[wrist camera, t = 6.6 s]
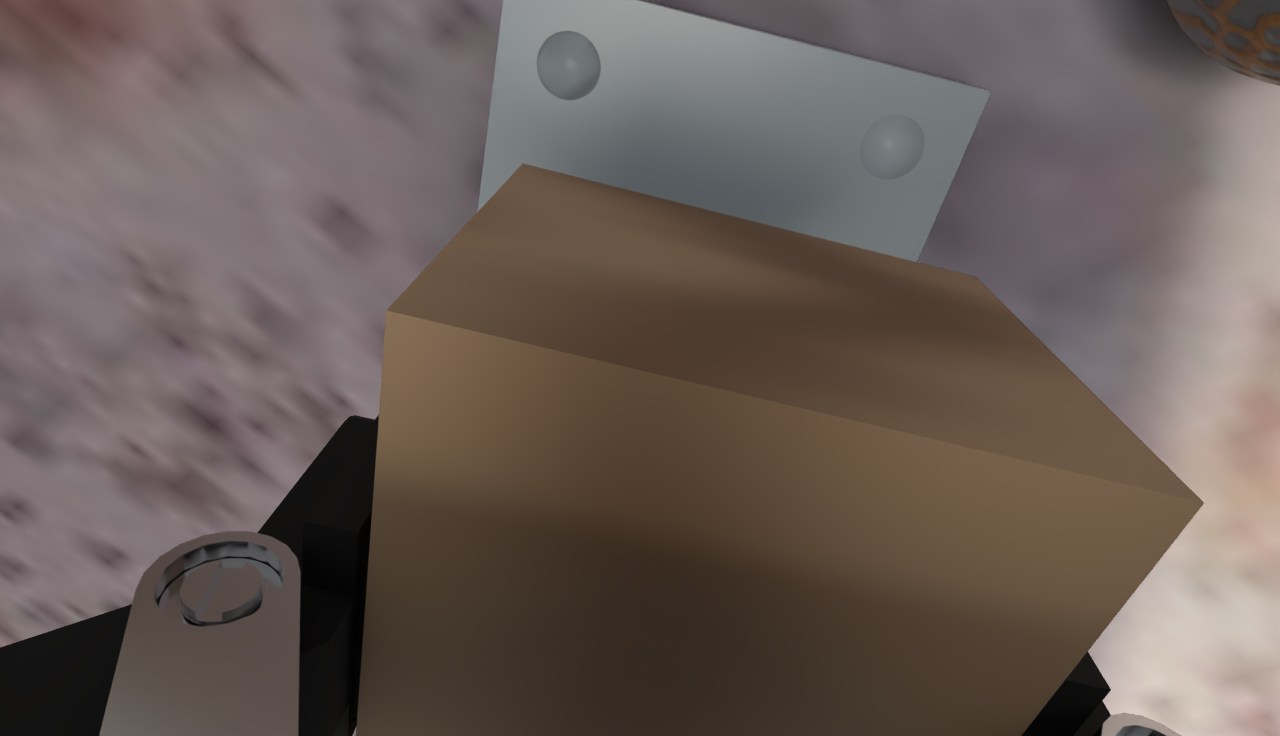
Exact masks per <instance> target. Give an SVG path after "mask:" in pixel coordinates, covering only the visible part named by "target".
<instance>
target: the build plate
mask: <svg viewBox="0 0 1280 736" xmlns="http://www.w3.org/2000/svg"><path fill="white" fill-rule="evenodd" d="M990 94H991V92H990V91H988V90H985V89H982V88H979V87H976V86H973V85H970V84H966V83H962V82H958V81H954V80H950V79H946V78H943V77H939V76H935V75H931V74H927V73H923V72H919V71H916V70H912V69H908V68H904V67H900V66H896V65H892V64H888V63H885V62H881V61H877V60H873V59H869V58H865V57H861V56H858V55H854V54H850V53H846V52H842V51H838V50H834V49H831V48H827V47H823V46H819V45H815V44H811V43H807V42H803V41H800V40H796V39H792V38H788V37H784V36H780V35H776V34H773V33H769V32H765V31H761V30H757V29H753V28H749V27H746V26H742V25H738V24H734V23H730V22H726V21H722V20H718V19H715V18H711V17H707V16H703V15H699V14H695V13H691V12H688V11H684V10H680V9H676V8H672V7H668V6H664V5H661V4H657V3H653V2H649V1H645V0H503V5H502V13H501V22H500V30H499V38H498V46H497V55H496V63H495V71H494V79H493V88H492V96H491V104H490V112H489V121H488V129H487V137H486V145H485V154H484V162H483V170H482V178H481V187H480V195H479V203H478V211H479V210H480V209H481V208H482V207H483V206H484V205H485V204H486V202H487V201H488V200H489V199H490V198H491V197H492V196H493V195H494V194H495V193H496V192H497V191H498V190H499V188H500V187H501V186H502V185H503V184H504V183H505V182H506V181H507V180H508V179H509V178H510V177H511V175H512V174H513V173H514V172H515V171H516V170H517V169H518V168H519V167H520V166H521V165H522V164H527V165H531V166H535V167H539V168H543V169H547V170H551V171H555V172H559V173H563V174H567V175H571V176H575V177H579V178H583V179H587V180H591V181H595V182H599V183H603V184H607V185H611V186H615V187H619V188H623V189H627V190H631V191H635V192H639V193H643V194H647V195H651V196H655V197H659V198H663V199H667V200H671V201H675V202H679V203H683V204H687V205H691V206H695V207H699V208H703V209H707V210H711V211H715V212H719V213H723V214H727V215H731V216H735V217H739V218H743V219H747V220H750V221H754V222H758V223H762V224H766V225H770V226H774V227H778V228H782V229H786V230H790V231H794V232H798V233H802V234H806V235H810V236H814V237H818V238H822V239H826V240H830V241H834V242H838V243H842V244H846V245H850V246H854V247H858V248H862V249H866V250H870V251H874V252H878V253H882V254H886V255H890V256H894V257H898V258H902V259H906V260H910V261H914V262H917V261H918V258H919V256H920V254H921V252H922V249H923V247H924V245H925V242H926V240H927V238H928V236H929V233H930V231H931V229H932V226H933V224H934V222H935V220H936V217H937V215H938V213H939V210H940V208H941V206H942V204H943V201H944V199H945V197H946V194H947V192H948V190H949V188H950V185H951V183H952V181H953V178H954V176H955V174H956V172H957V169H958V167H959V165H960V162H961V160H962V158H963V156H964V153H965V151H966V149H967V146H968V144H969V142H970V140H971V137H972V135H973V133H974V130H975V128H976V126H977V124H978V121H979V119H980V117H981V114H982V112H983V110H984V108H985V105H986V103H987V101H988V98H989V96H990ZM478 211H477V212H478Z"/></svg>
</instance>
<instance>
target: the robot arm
mask: <svg viewBox="0 0 1280 736" xmlns="http://www.w3.org/2000/svg"><path fill="white" fill-rule="evenodd" d="M378 423H379V415H378V417H377V418H376V419H375V420H374V419H369V418H365V417H360V416H355V415H354V416H350V417H349V418H348V419H347V420H346V421H345V422H344V423H343V424H342V425H341V427H340V428H339V429H338V430H337V432H336V433H335V434H334V436H333V437H332V438H331V439H330V441H329V442H328V443H327V445H326V446H325V447H324V448H323V450H322V451H321V452H320V453H319V455H318V456H317V457H316V459H315V460H314V461H313V462H312V464H311V465H310V466H309V468H308V469H307V470H306V471H305V473H304V474H303V475H302V477H301V478H300V479H299V480H298V482H297V483H296V484H295V485H294V487H293V488H292V489H291V491H290V492H289V493H288V494H287V496H286V497H285V498H284V500H283V501H282V502H281V503H280V505H279V506H278V507H277V508H276V510H275V511H274V512H273V514H272V515H271V516H270V517H269V519H268V520H267V521H266V523H265V524H264V525H263V526H262V528H261V529H260V530H259V532H258V533H255V532H248V531H226V532H220V533H215V534H209V535H203V536H201V537H198V538H195V539H193V540H190V541H187V542H184V543H182V544H180V545H178V546H176V547H175V548H173V549H171V550H170V551H168V552H166V553H165V554H163V555H162V556H160V557H159V558H158V559H157V560H156V561H155V562H154V563H153V564H152V565H151V566H150V567H149V568H148V569H147V570H146V571H145V572H144V574H143V576H142V578H141V580H140V582H139V584H138V586H137V588H136V590H135V594H134V598H133V602H132V604H131V605H128V606H125V607H122V608H119V609H116V610H113V611H110V612H107V613H104V614H101V615H98V616H95V617H92V618H89V619H86V620H83V621H80V622H77V623H74V624H71V625H68V626H65V627H62V628H59V629H56V630H53V631H50V632H47V633H43V634H40V635H37V636H34V637H31V638H28V639H25V640H22V641H19V642H16V643H13V644H10V645H7V646H4V647H1V648H0V736H352V735H353V733H354V730H355V728H356V726H357V714H358V700H359V686H360V673H361V659H362V645H363V631H364V617H365V603H366V589H367V575H368V561H369V548H370V534H371V520H372V506H373V492H374V478H375V464H376V450H377V437H378ZM1110 690H1111V689H1110V688H1109V686H1108V684H1107V683H1106V681H1105V679H1104V678H1103V676H1102V674H1101V673H1100V671H1099V669H1098V668H1097V666H1096V664H1095V663H1094V661H1093V660H1092V658H1091V656H1090V655H1089V653H1088V651H1087V653H1086V654H1085V655H1084V656H1083V658H1082V659H1081V660H1080V662H1079V663H1078V664H1077V665H1076V667H1075V668H1074V669H1073V670H1072V672H1071V673H1070V674H1069V676H1068V677H1067V678H1066V679H1065V681H1064V682H1063V683H1062V685H1061V686H1060V687H1059V688H1058V690H1057V691H1056V692H1055V693H1054V695H1053V696H1052V697H1051V699H1050V700H1049V701H1048V702H1047V704H1046V705H1045V706H1044V707H1043V709H1042V710H1041V711H1040V713H1039V714H1038V715H1037V716H1036V718H1035V719H1034V720H1033V721H1032V723H1031V724H1030V725H1029V727H1028V728H1027V729H1026V730H1025V732H1024V733H1023V734H1022V735H1021V736H1181V735H1179V734H1177V733H1176V732H1174V731H1173V730H1171V729H1169V728H1168V727H1166V726H1164V725H1163V724H1160V723H1158V722H1156V721H1153V720H1151V719H1148V718H1146V717H1143V716H1140V715H1134V714H1128V713H1121V714H1116V715H1110V713H1109V711H1108V710H1107V708H1106V706H1105V704H1104V703H1103V701H1102V700H1103V699H1104V698H1105V697H1106V695H1107V694H1108V693H1109V692H1110Z"/></svg>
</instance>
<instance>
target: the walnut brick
mask: <svg viewBox="0 0 1280 736" xmlns="http://www.w3.org/2000/svg"><path fill="white" fill-rule="evenodd" d="M1203 504H1204V502H1203V501H1202V500H1201V499H1200V498H1199V497H1198V496H1197V495H1196V494H1195V493H1194V492H1193V491H1192V490H1190V489H1189V488H1188V487H1187V486H1186V485H1185V484H1184V483H1183V482H1182V481H1181V480H1180V479H1179V478H1178V477H1177V476H1176V475H1175V474H1174V473H1173V472H1172V471H1171V470H1170V469H1169V468H1168V467H1167V466H1166V465H1165V464H1164V463H1163V462H1162V461H1161V460H1160V459H1159V458H1158V457H1157V456H1156V455H1155V454H1154V453H1153V452H1152V451H1151V450H1150V449H1149V448H1148V447H1147V446H1146V445H1145V444H1144V443H1143V442H1142V441H1141V440H1140V439H1139V438H1138V437H1137V436H1136V435H1135V434H1134V433H1133V432H1132V431H1131V430H1130V429H1129V428H1128V427H1127V426H1126V425H1125V424H1124V423H1123V422H1122V421H1121V420H1120V419H1119V418H1118V417H1117V416H1116V415H1115V414H1114V413H1113V412H1112V411H1111V410H1110V409H1109V408H1108V407H1107V406H1106V405H1105V404H1104V403H1103V402H1102V401H1101V400H1100V399H1099V398H1098V397H1097V396H1096V395H1095V394H1094V393H1093V392H1092V391H1091V390H1090V389H1089V388H1088V387H1087V386H1086V385H1085V384H1083V383H1082V382H1081V381H1080V380H1079V379H1078V378H1077V377H1076V376H1075V375H1074V374H1073V373H1072V372H1071V371H1070V370H1069V369H1068V368H1067V367H1066V366H1065V365H1064V364H1063V363H1062V362H1061V361H1060V360H1059V359H1058V358H1057V357H1056V356H1055V355H1054V354H1053V353H1052V352H1051V351H1050V350H1049V349H1048V348H1047V347H1046V346H1045V345H1044V344H1043V343H1042V342H1041V341H1040V340H1039V339H1038V338H1037V337H1036V336H1035V335H1034V334H1033V333H1032V332H1031V331H1030V330H1029V329H1028V328H1027V327H1026V326H1025V325H1024V324H1023V323H1022V322H1021V321H1020V320H1019V319H1018V318H1017V317H1016V316H1015V315H1014V314H1013V313H1012V312H1011V311H1010V310H1009V309H1008V308H1007V307H1006V306H1005V305H1004V304H1003V303H1002V302H1001V301H1000V300H999V299H998V298H997V297H996V296H995V295H994V294H993V293H992V292H991V291H990V290H989V289H988V288H987V287H986V286H985V285H984V284H983V283H982V282H981V281H980V280H979V279H978V278H976V277H974V276H970V275H966V274H962V273H958V272H954V271H950V270H946V269H942V268H938V267H934V266H930V265H926V264H922V263H918V262H914V261H910V260H906V259H902V258H898V257H894V256H890V255H886V254H882V253H878V252H874V251H870V250H866V249H862V248H858V247H854V246H850V245H846V244H842V243H838V242H834V241H830V240H826V239H822V238H818V237H814V236H810V235H806V234H802V233H798V232H794V231H790V230H786V229H782V228H778V227H774V226H770V225H766V224H762V223H758V222H754V221H750V220H747V219H743V218H739V217H735V216H731V215H727V214H723V213H719V212H715V211H711V210H707V209H703V208H699V207H695V206H691V205H687V204H683V203H679V202H675V201H671V200H667V199H663V198H659V197H655V196H651V195H647V194H643V193H639V192H635V191H631V190H627V189H623V188H619V187H615V186H611V185H607V184H603V183H599V182H595V181H591V180H587V179H583V178H579V177H575V176H571V175H567V174H563V173H559V172H555V171H551V170H547V169H543V168H539V167H535V166H531V165H527V164H522V165H521V166H520V167H519V168H518V169H517V170H516V171H515V172H514V173H513V174H512V175H511V177H510V178H509V179H508V180H507V181H506V182H505V183H504V184H503V185H502V186H501V187H500V188H499V190H498V191H497V192H496V193H495V194H494V195H493V196H492V197H491V198H490V199H489V200H488V201H487V202H486V204H485V205H484V206H483V207H482V208H481V209H480V210H479V211H478V212H477V213H476V214H475V215H474V217H473V218H472V219H471V220H470V221H469V222H468V223H467V224H466V225H465V226H464V227H463V228H462V230H461V231H460V232H459V233H458V234H457V235H456V236H455V237H454V238H453V239H452V240H451V241H450V242H449V244H448V245H447V246H446V247H445V248H444V249H443V250H442V251H441V252H440V253H439V254H438V255H437V257H436V258H435V259H434V260H433V261H432V262H431V263H430V264H429V265H428V266H427V267H426V268H425V270H424V271H423V272H422V273H421V274H420V275H419V276H418V277H417V278H416V279H415V280H414V281H413V283H412V284H411V285H410V286H409V287H408V288H407V289H406V290H405V291H404V292H403V293H402V294H401V295H400V297H399V298H398V299H397V300H396V301H395V302H394V303H393V304H392V305H391V306H390V307H389V308H388V310H387V312H386V326H385V339H384V353H383V367H382V381H381V395H380V409H379V423H378V437H377V450H376V464H375V478H374V492H373V506H372V520H371V534H370V548H369V561H368V575H367V589H366V603H365V617H364V631H363V645H362V659H361V673H360V686H359V700H358V714H357V728H356V736H1021V735H1022V734H1023V733H1024V732H1025V730H1026V729H1027V728H1028V727H1029V725H1030V724H1031V723H1032V721H1033V720H1034V719H1035V718H1036V716H1037V715H1038V714H1039V713H1040V711H1041V710H1042V709H1043V707H1044V706H1045V705H1046V704H1047V702H1048V701H1049V700H1050V699H1051V697H1052V696H1053V695H1054V693H1055V692H1056V691H1057V690H1058V688H1059V687H1060V686H1061V685H1062V683H1063V682H1064V681H1065V679H1066V678H1067V677H1068V676H1069V674H1070V673H1071V672H1072V670H1073V669H1074V668H1075V667H1076V665H1077V664H1078V663H1079V662H1080V660H1081V659H1082V658H1083V656H1084V655H1085V654H1086V653H1087V651H1088V650H1089V649H1090V648H1091V646H1092V645H1093V644H1094V642H1095V641H1096V640H1097V639H1098V637H1099V636H1100V635H1101V634H1102V632H1103V631H1104V630H1105V628H1106V627H1107V626H1108V625H1109V623H1110V622H1111V621H1112V620H1113V618H1114V617H1115V616H1116V614H1117V613H1118V612H1119V611H1120V609H1121V608H1122V607H1123V606H1124V604H1125V603H1126V602H1127V600H1128V599H1129V598H1130V597H1131V595H1132V594H1133V593H1134V592H1135V590H1136V589H1137V588H1138V586H1139V585H1140V584H1141V583H1142V581H1143V580H1144V579H1145V577H1146V576H1147V575H1148V574H1149V572H1150V571H1151V570H1152V569H1153V567H1154V566H1155V565H1156V563H1157V562H1158V561H1159V560H1160V558H1161V557H1162V556H1163V555H1164V553H1165V552H1166V551H1167V549H1168V548H1169V547H1170V546H1171V544H1172V543H1173V542H1174V541H1175V539H1176V538H1177V537H1178V535H1179V534H1180V533H1181V532H1182V530H1183V529H1184V528H1185V527H1186V525H1187V524H1188V523H1189V521H1190V520H1191V519H1192V518H1193V516H1194V515H1195V514H1196V513H1197V511H1198V510H1199V509H1200V507H1201V506H1202V505H1203Z"/></svg>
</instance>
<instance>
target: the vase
mask: <svg viewBox="0 0 1280 736" xmlns="http://www.w3.org/2000/svg"><path fill="white" fill-rule="evenodd" d="M1167 3H1168V5H1169V7H1170V9H1171V12H1172V13H1173V15H1174V17H1175V19H1176V21H1177V23H1178V24H1179V26H1180V27H1181V29H1182V30H1183V31H1184V32H1185V33H1186V35H1187V36H1188V37H1189V38H1190V39H1191V40H1192V41H1193V42H1194V43H1195V44H1196V45H1197V46H1198V47H1199V48H1200V49H1201V50H1202V51H1204V52H1205V53H1206V54H1208V55H1209V56H1210V57H1212V58H1213V59H1215V60H1217V61H1218V62H1220V63H1221V64H1223V65H1225V66H1226V67H1228V68H1230V69H1232V70H1234V71H1236V72H1238V73H1240V74H1243V75H1246V76H1249V77H1251V78H1255V79H1258V80H1261V81H1264V82H1267V83H1271V84H1275V85H1280V0H1167Z"/></svg>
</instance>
